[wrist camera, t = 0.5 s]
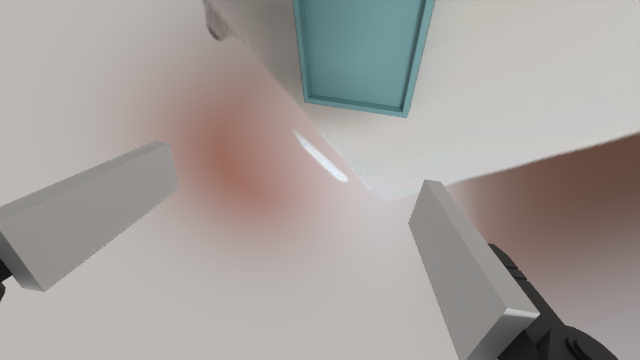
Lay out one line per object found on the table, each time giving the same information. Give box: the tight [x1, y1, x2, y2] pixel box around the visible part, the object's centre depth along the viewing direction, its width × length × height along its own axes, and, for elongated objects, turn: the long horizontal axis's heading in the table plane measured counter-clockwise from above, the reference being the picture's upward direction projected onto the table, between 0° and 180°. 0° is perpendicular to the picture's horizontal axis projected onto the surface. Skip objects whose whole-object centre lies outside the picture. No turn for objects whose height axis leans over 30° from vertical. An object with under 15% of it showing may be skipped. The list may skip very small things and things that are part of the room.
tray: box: [293, 0, 435, 118], centre depth 33 cm, size 18×18×2 cm
